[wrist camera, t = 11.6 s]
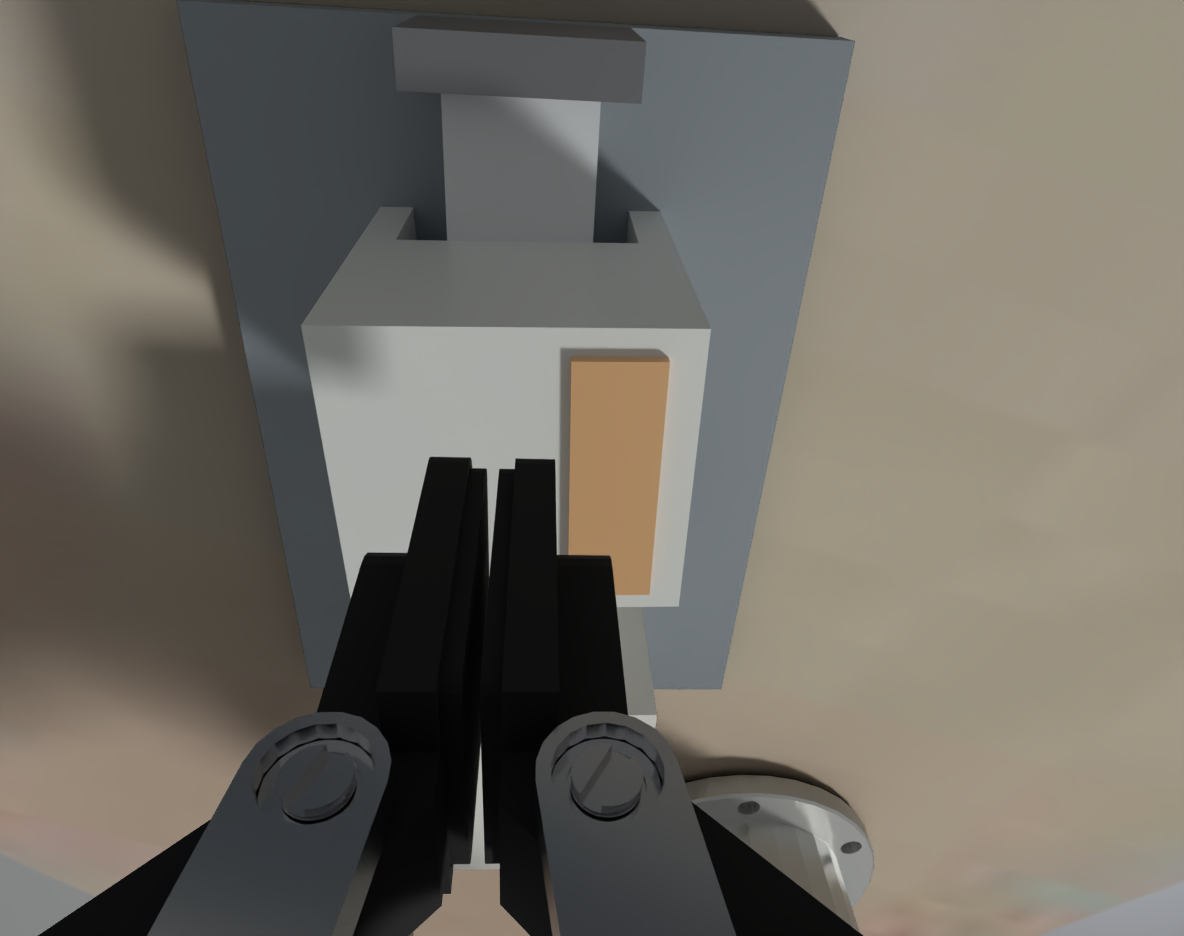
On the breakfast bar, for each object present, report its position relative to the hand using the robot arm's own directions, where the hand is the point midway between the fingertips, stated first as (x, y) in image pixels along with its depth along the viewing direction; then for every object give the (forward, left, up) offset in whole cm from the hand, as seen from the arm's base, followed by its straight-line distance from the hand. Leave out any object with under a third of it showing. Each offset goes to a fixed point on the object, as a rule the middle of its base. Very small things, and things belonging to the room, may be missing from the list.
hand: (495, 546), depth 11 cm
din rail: (-4, 0, -11) cm, 12 cm away
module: (-1, 0, -10) cm, 10 cm away
